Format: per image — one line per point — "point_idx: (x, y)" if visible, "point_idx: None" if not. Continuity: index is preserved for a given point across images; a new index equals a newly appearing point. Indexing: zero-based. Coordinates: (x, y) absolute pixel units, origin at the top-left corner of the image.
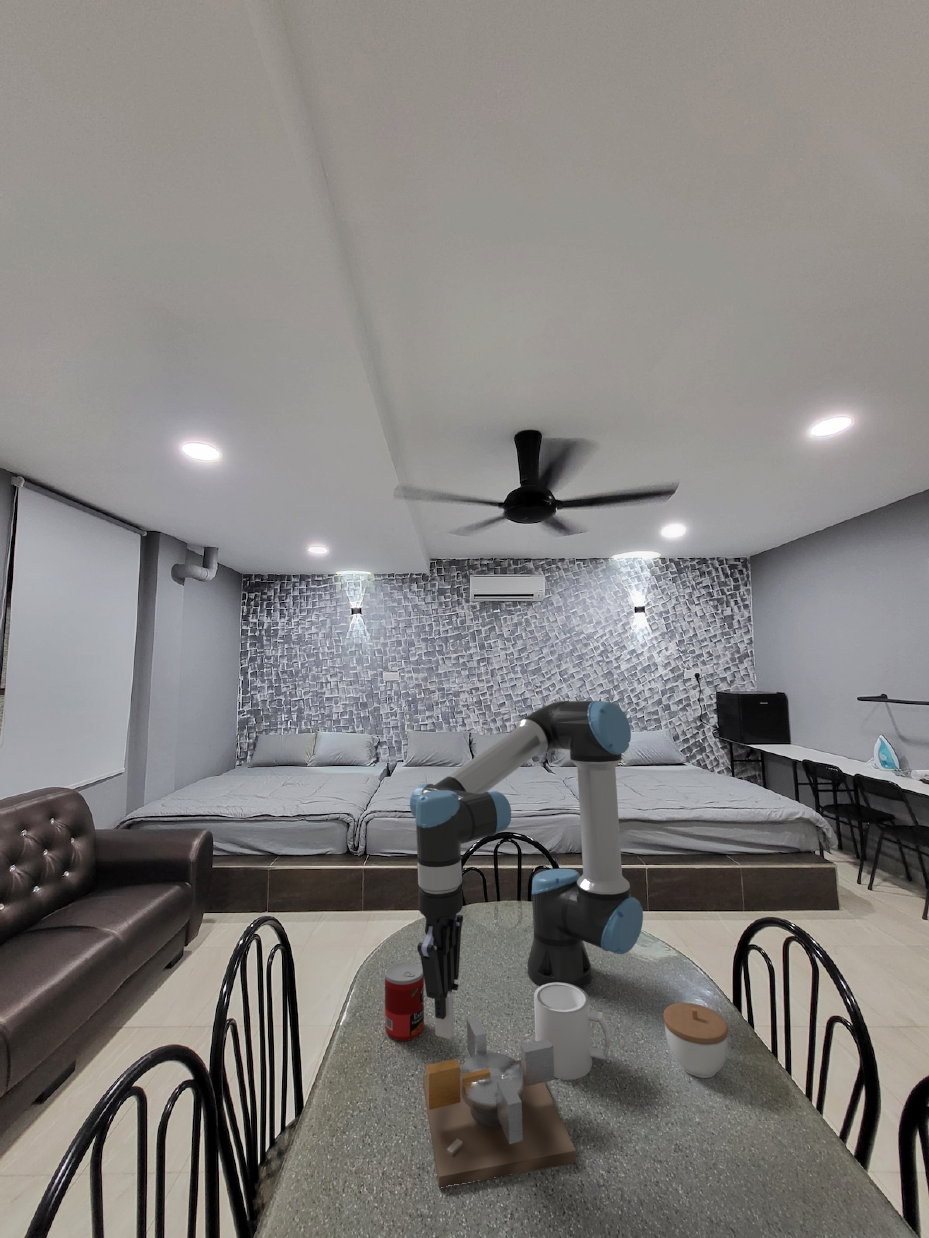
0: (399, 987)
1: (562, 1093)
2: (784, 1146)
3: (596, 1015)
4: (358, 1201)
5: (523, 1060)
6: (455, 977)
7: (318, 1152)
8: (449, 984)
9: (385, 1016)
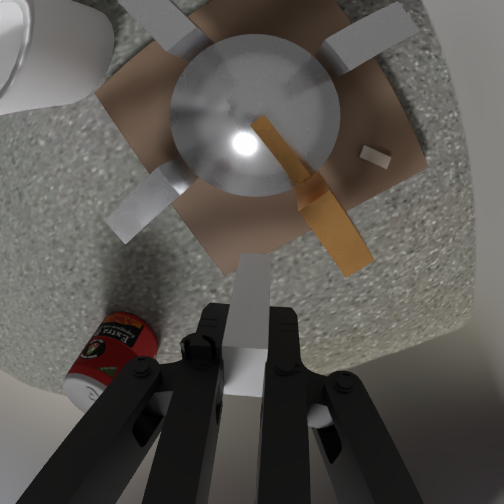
0: None
1: None
2: None
3: None
4: (448, 262)
5: (192, 43)
6: (160, 373)
7: (389, 338)
8: (218, 379)
9: None
